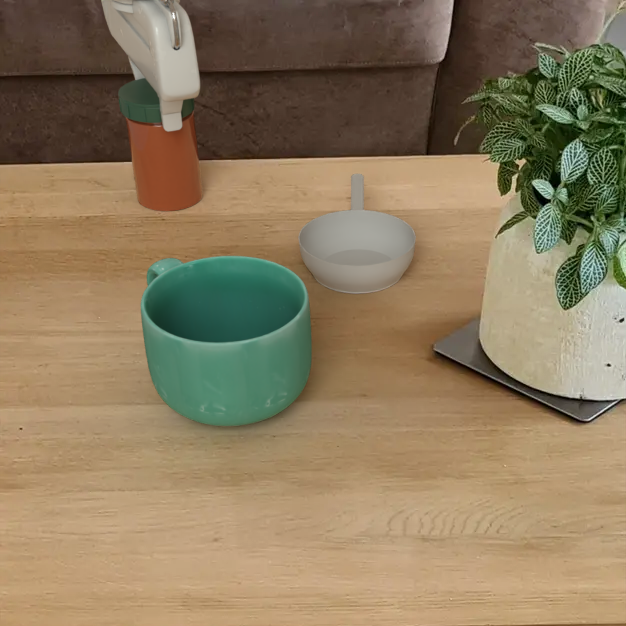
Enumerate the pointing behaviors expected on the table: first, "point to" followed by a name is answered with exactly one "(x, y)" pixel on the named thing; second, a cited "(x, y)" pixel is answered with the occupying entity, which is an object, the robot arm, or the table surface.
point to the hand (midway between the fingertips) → (159, 112)
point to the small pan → (357, 246)
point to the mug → (226, 337)
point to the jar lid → (145, 102)
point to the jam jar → (165, 164)
